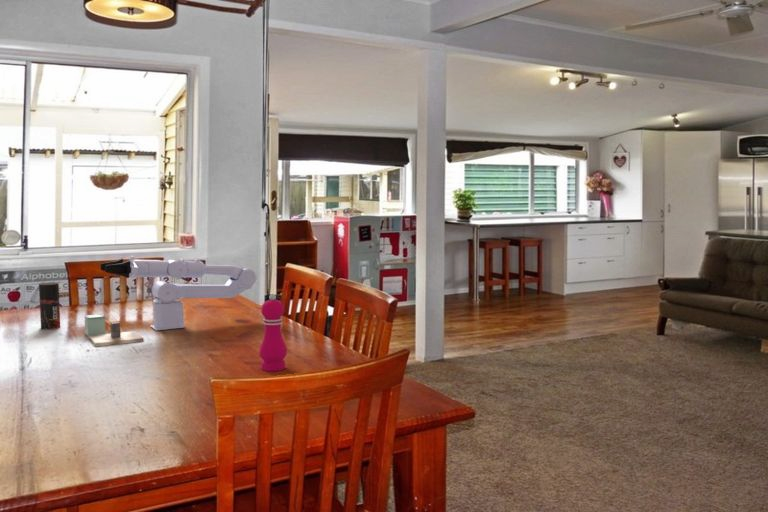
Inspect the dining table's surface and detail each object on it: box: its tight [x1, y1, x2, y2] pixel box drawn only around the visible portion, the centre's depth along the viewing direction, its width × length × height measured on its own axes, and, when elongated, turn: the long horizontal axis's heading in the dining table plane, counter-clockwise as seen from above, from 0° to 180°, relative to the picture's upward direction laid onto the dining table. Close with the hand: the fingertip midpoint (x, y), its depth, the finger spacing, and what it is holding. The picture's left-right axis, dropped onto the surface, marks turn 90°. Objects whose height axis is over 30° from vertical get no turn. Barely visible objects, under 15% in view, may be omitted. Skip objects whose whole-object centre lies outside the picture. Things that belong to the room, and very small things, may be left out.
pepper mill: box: [258, 293, 288, 372], centre depth 180 cm, size 7×7×20 cm
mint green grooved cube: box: [84, 313, 106, 337], centre depth 221 cm, size 5×5×6 cm
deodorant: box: [38, 282, 61, 330], centre depth 230 cm, size 6×6×15 cm
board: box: [87, 321, 144, 347], centre depth 213 cm, size 14×12×6 cm
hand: (102, 267), depth 220 cm, fingers open, 7 cm apart
